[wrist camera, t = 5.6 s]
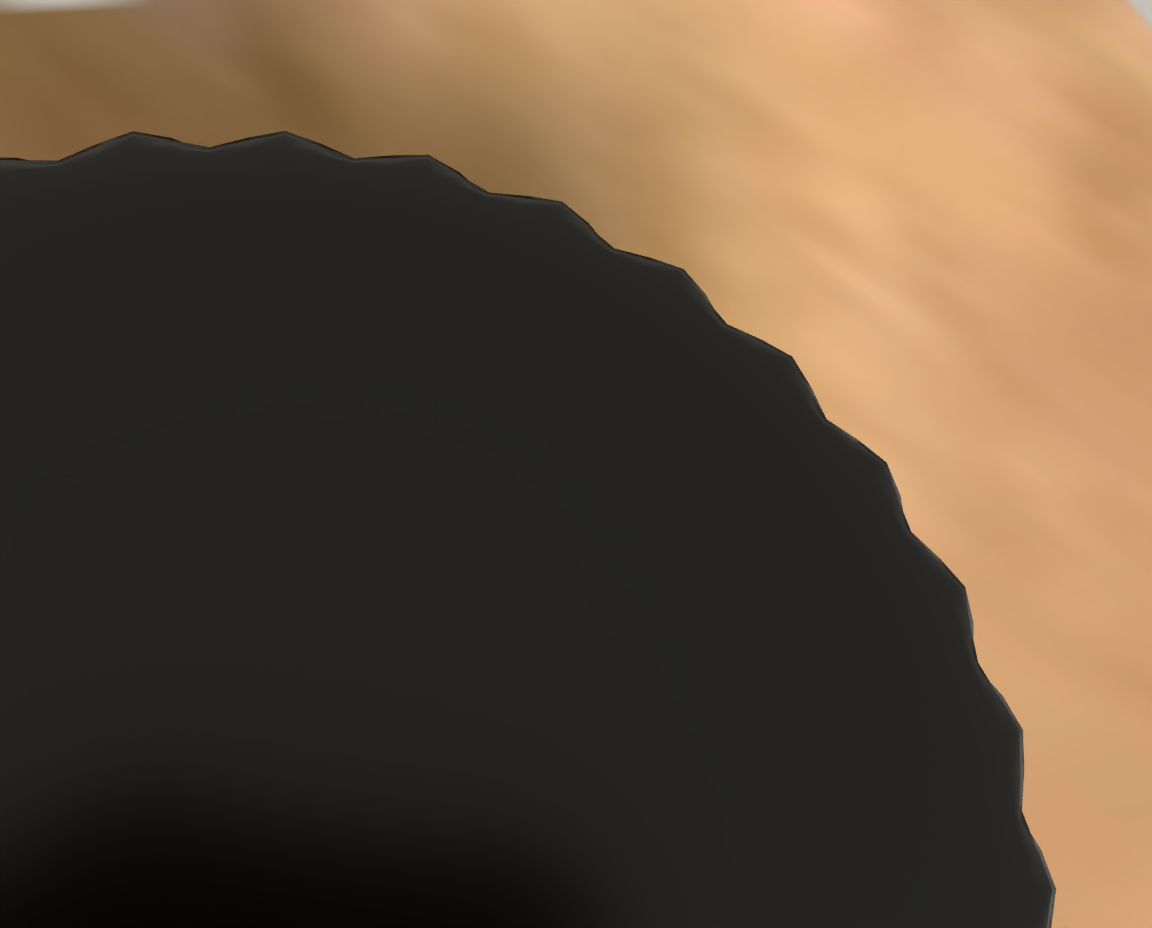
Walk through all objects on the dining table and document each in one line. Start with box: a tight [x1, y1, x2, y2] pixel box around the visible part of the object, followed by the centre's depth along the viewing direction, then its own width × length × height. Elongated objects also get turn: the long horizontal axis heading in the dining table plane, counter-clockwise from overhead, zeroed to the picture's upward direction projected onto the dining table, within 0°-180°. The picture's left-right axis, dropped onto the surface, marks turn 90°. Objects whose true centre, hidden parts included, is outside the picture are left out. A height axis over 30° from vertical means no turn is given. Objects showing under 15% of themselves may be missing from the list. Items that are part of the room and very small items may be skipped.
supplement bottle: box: [0, 131, 1056, 928], centre depth 8 cm, size 7×7×12 cm
